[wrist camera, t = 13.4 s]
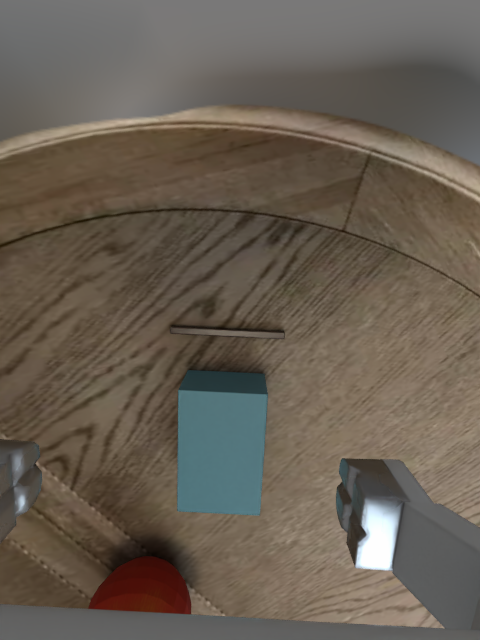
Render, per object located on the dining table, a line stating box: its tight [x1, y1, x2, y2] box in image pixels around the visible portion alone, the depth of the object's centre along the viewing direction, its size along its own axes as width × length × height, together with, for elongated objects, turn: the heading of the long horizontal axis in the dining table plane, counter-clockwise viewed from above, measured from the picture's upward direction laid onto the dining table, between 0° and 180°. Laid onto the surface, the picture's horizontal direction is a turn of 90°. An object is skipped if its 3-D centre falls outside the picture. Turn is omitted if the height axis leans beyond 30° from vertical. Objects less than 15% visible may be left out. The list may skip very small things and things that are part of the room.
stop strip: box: [170, 326, 285, 339], centre depth 29 cm, size 1×10×1 cm, turn 87°
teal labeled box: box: [177, 370, 268, 515], centre depth 29 cm, size 11×7×4 cm, turn 177°
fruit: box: [88, 556, 191, 614], centre depth 30 cm, size 10×10×10 cm
